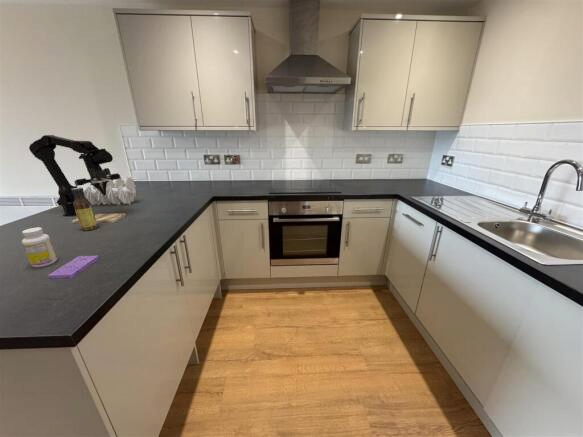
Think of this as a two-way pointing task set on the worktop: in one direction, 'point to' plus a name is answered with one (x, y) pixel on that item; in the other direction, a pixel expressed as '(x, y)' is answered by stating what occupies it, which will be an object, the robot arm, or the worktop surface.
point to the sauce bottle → (84, 210)
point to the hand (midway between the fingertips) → (104, 195)
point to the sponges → (74, 267)
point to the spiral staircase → (112, 192)
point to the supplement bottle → (38, 247)
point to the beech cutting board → (105, 217)
